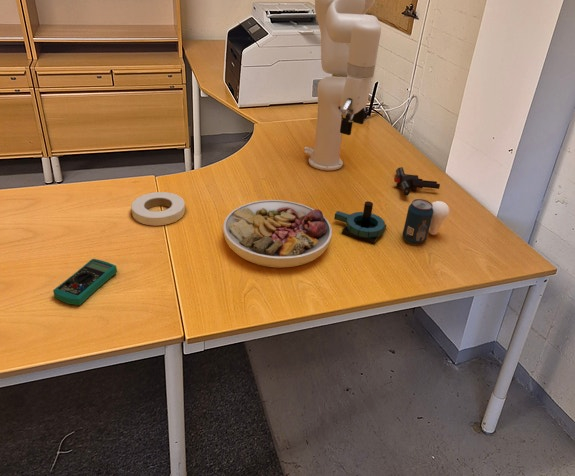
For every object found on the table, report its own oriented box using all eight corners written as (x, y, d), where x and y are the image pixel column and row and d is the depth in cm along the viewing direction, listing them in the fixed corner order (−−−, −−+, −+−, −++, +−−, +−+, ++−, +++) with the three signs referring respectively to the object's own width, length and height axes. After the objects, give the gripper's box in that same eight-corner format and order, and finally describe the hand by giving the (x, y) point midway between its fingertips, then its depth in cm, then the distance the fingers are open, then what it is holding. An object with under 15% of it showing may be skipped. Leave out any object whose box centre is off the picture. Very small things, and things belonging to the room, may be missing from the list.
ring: (389, 224, 154) (390, 218, 153) (376, 242, 146) (377, 236, 145) (342, 209, 160) (343, 204, 159) (327, 226, 151) (328, 220, 150)
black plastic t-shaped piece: (435, 167, 184) (393, 163, 185) (445, 187, 167) (398, 182, 168) (432, 181, 186) (390, 177, 187) (441, 202, 169) (395, 197, 170)
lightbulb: (443, 231, 156) (452, 199, 150) (441, 242, 151) (450, 209, 145) (423, 227, 157) (431, 195, 151) (420, 237, 152) (428, 204, 146)
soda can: (410, 230, 155) (418, 195, 149) (430, 240, 151) (439, 205, 145) (397, 238, 151) (404, 202, 144) (417, 249, 147) (426, 212, 140)
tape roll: (121, 216, 151) (119, 208, 150) (154, 195, 163) (153, 187, 161) (164, 231, 146) (163, 223, 144) (195, 208, 158) (195, 200, 156)
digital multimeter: (52, 299, 120) (49, 289, 118) (94, 265, 131) (92, 255, 130) (78, 308, 118) (76, 299, 116) (118, 272, 129) (117, 263, 128)
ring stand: (341, 233, 151) (346, 205, 146) (354, 219, 159) (359, 191, 154) (374, 244, 148) (379, 216, 142) (385, 228, 155) (391, 201, 150)
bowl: (249, 285, 129) (250, 259, 124) (207, 225, 150) (207, 201, 146) (350, 258, 141) (354, 234, 137) (298, 206, 163) (300, 184, 158)
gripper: (359, 59, 150) (351, 116, 159) (335, 74, 137) (327, 134, 147) (384, 65, 147) (374, 122, 157) (361, 81, 134) (352, 141, 144)
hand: (351, 128), depth 152 cm, fingers open, 9 cm apart
